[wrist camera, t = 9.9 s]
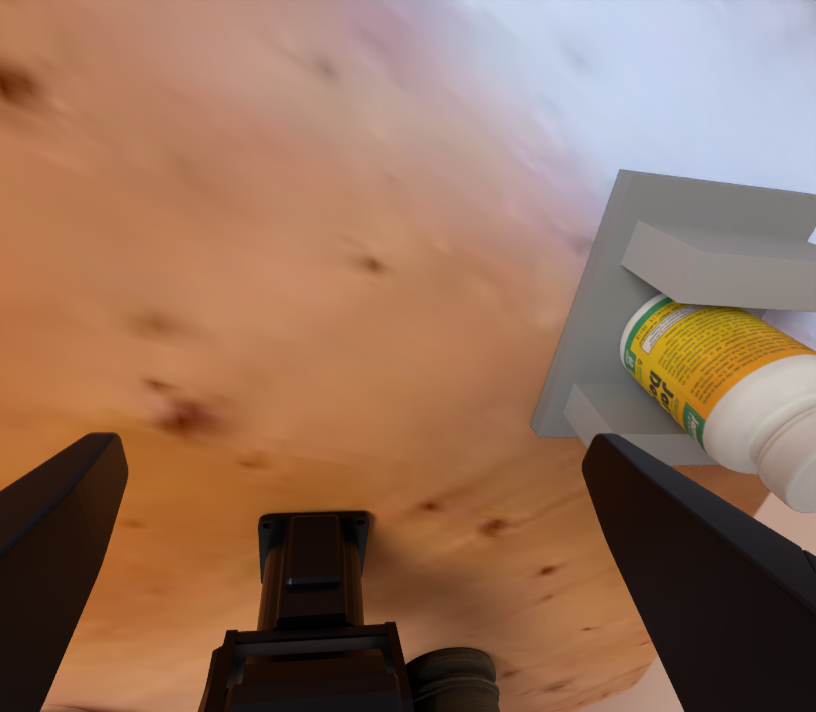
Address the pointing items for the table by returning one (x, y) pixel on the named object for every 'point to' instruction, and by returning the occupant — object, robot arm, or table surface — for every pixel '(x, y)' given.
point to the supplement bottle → (731, 389)
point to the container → (453, 682)
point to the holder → (670, 294)
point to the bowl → (59, 709)
